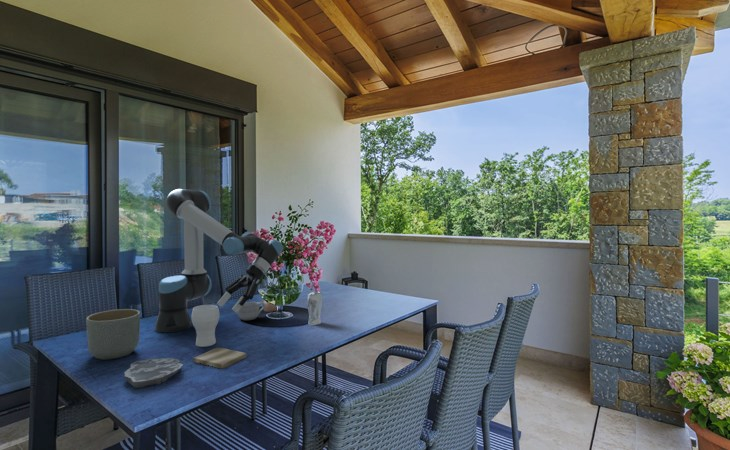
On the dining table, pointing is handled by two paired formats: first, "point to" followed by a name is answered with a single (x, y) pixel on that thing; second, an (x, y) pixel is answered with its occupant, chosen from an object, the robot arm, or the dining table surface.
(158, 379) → the brain slice
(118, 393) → the dining table surface
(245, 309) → the teacup
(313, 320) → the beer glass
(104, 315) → the planter
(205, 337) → the cup
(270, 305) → the tealight holder
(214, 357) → the oak board
